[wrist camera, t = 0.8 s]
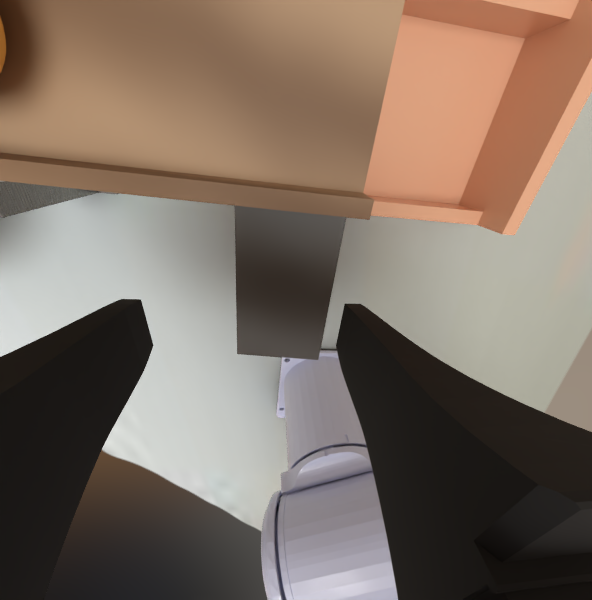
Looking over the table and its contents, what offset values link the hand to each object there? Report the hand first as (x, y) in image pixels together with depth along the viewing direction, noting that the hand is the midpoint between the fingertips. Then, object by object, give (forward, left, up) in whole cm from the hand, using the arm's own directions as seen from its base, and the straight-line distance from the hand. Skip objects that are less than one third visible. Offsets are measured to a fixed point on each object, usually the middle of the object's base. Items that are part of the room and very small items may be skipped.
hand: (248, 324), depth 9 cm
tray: (+8, -10, -10) cm, 16 cm away
